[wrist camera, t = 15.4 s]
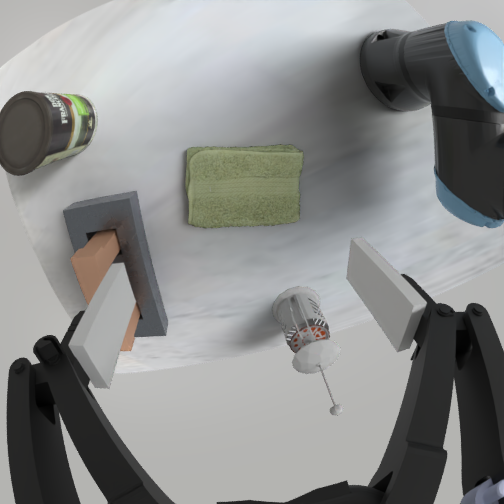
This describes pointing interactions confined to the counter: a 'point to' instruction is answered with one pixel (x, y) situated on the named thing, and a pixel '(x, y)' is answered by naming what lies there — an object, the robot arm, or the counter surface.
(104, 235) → the staple
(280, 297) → the french press
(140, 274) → the grey slotted base block
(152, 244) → the counter surface
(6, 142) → the coffee can
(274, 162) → the washcloth
